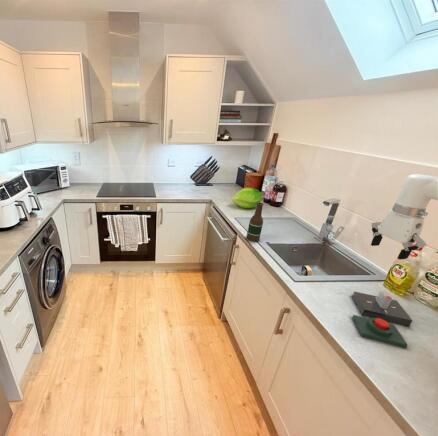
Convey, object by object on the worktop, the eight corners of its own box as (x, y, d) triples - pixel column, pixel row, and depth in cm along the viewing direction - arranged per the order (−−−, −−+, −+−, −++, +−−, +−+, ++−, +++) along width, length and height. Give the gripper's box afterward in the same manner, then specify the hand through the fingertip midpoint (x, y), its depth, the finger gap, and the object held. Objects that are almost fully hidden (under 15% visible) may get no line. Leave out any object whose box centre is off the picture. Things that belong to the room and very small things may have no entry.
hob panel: (393, 306, 96) (396, 300, 94) (408, 326, 86) (412, 320, 85) (351, 296, 100) (354, 291, 99) (361, 315, 91) (364, 309, 90)
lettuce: (229, 211, 204) (227, 192, 207) (259, 209, 202) (256, 190, 205) (235, 207, 186) (233, 186, 188) (268, 204, 184) (265, 183, 187)
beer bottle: (257, 236, 150) (265, 201, 141) (261, 242, 143) (269, 205, 134) (245, 235, 152) (251, 200, 142) (247, 241, 145) (254, 205, 135)
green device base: (392, 327, 86) (396, 320, 84) (405, 348, 78) (410, 341, 77) (351, 317, 90) (355, 311, 89) (361, 336, 82) (364, 329, 81)
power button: (384, 323, 84) (386, 319, 83) (389, 331, 81) (391, 327, 80) (371, 320, 85) (373, 316, 84) (376, 328, 82) (378, 324, 81)
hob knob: (375, 300, 94) (380, 289, 92) (381, 301, 94) (386, 291, 92) (380, 308, 90) (386, 297, 88) (386, 309, 90) (392, 298, 88)
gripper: (448, 219, 75) (422, 264, 82) (390, 201, 91) (373, 240, 98) (428, 220, 74) (404, 265, 81) (373, 202, 90) (357, 241, 97)
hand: (387, 251), depth 89 cm, fingers open, 9 cm apart
